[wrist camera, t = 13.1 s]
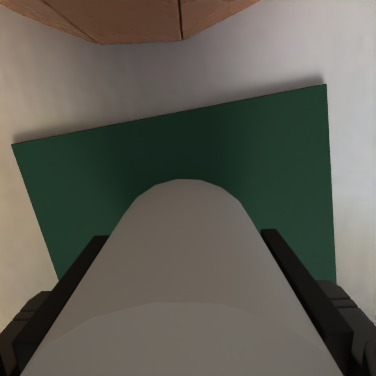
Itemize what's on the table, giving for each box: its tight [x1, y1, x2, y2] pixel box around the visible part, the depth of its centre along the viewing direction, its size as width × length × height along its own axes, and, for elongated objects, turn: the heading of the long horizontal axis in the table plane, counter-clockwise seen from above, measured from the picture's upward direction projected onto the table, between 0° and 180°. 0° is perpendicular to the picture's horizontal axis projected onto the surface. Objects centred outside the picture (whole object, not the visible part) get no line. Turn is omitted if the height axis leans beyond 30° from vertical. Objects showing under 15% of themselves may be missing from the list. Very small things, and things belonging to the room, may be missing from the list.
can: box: [20, 179, 343, 376], centre depth 10 cm, size 8×8×12 cm
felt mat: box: [11, 84, 336, 284], centre depth 17 cm, size 18×14×1 cm
